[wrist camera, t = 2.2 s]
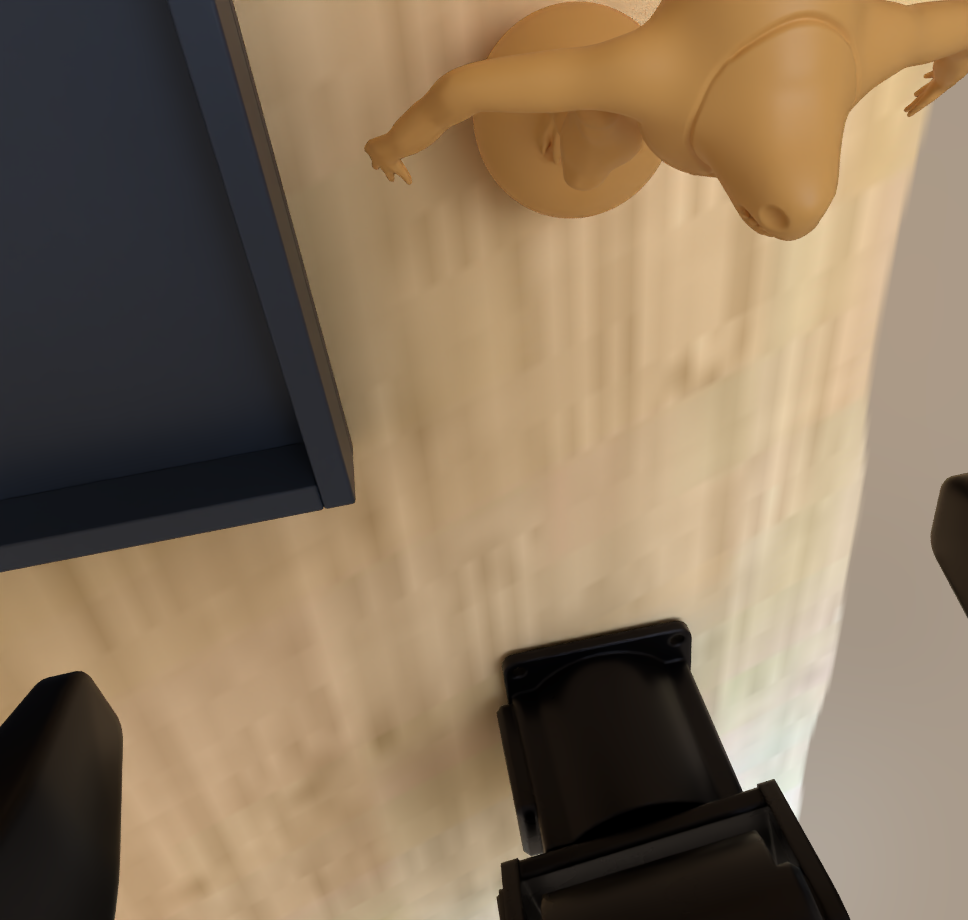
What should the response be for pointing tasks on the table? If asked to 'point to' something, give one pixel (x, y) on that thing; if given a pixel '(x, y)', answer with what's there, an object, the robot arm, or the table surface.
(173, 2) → the tray
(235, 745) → the table surface
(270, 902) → the table surface
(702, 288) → the table surface
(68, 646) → the table surface
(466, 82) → the figurine
